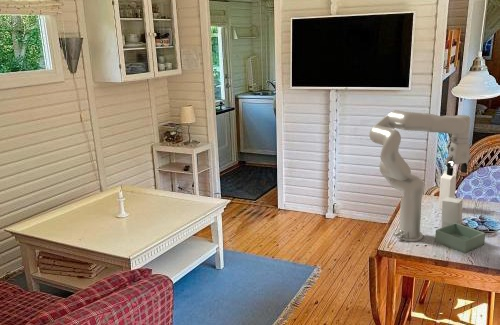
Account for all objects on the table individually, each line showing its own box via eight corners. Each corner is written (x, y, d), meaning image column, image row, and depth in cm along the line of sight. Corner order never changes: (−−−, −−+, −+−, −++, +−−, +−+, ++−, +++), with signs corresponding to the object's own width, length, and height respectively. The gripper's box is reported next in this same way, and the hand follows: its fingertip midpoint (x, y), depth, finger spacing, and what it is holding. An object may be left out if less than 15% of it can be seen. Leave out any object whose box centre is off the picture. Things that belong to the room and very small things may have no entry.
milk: (448, 211, 249) (450, 174, 243) (438, 208, 254) (440, 171, 248) (454, 208, 253) (456, 171, 247) (444, 206, 257) (446, 169, 252)
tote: (464, 253, 201) (465, 241, 200) (435, 241, 214) (435, 230, 213) (484, 244, 208) (485, 233, 207) (454, 233, 221) (455, 222, 220)
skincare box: (461, 228, 228) (463, 199, 224) (457, 232, 223) (459, 203, 219) (444, 224, 233) (446, 196, 229) (440, 228, 228) (442, 199, 224)
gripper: (453, 143, 212) (450, 178, 216) (478, 139, 219) (475, 173, 223) (440, 141, 219) (438, 174, 223) (465, 137, 226) (462, 169, 230)
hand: (456, 173), depth 223 cm, fingers open, 9 cm apart
